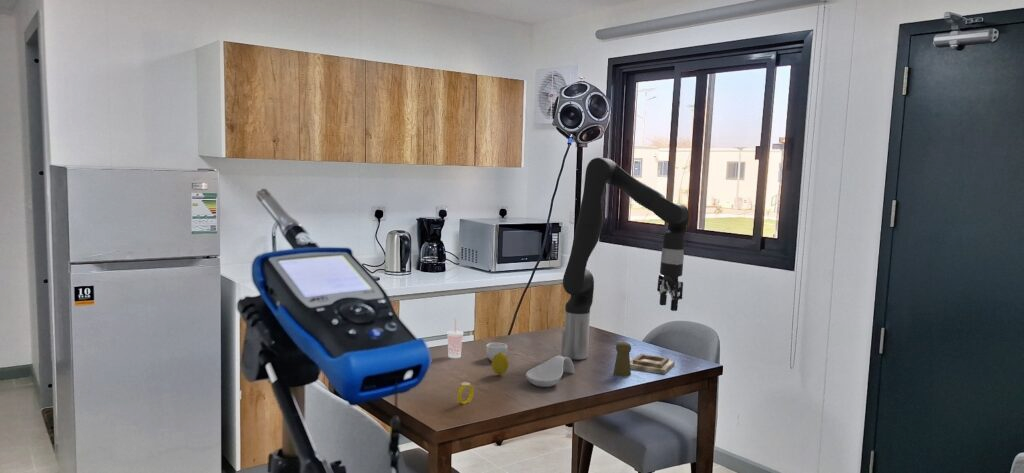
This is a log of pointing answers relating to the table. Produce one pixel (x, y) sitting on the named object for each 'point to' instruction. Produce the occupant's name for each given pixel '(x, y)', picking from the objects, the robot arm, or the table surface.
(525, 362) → the table surface
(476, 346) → the table surface
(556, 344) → the table surface
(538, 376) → the spoon rest
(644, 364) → the socket board
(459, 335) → the beverage cup
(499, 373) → the lemon
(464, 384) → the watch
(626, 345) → the pepper mill
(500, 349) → the teacup
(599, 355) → the table surface
